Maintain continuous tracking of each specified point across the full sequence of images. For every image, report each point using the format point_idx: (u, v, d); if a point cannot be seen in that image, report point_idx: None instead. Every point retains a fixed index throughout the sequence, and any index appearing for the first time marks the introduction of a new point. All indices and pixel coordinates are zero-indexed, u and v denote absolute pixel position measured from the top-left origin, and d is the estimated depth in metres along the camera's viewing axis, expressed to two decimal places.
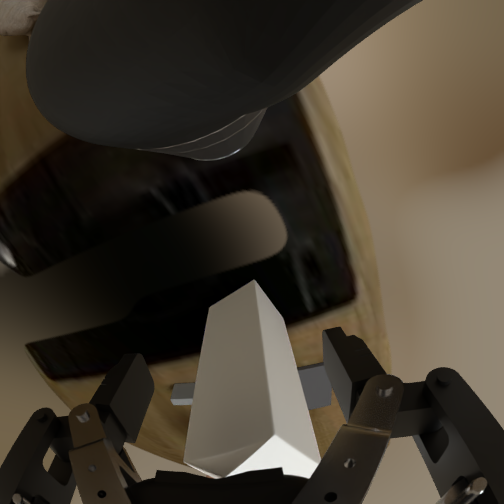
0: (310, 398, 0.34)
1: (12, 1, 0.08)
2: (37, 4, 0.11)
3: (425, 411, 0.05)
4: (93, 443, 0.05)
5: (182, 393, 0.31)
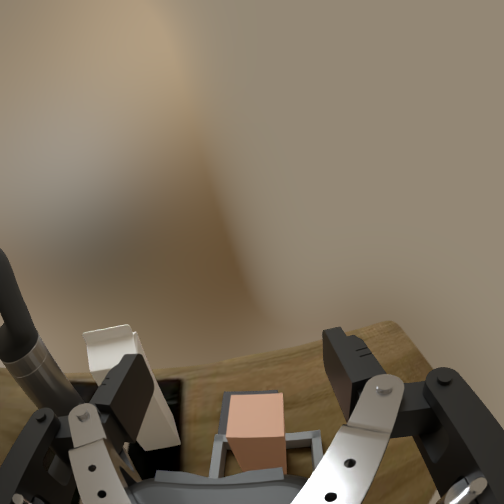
0: None
1: None
2: None
3: (425, 411, 0.05)
4: (93, 443, 0.05)
5: None
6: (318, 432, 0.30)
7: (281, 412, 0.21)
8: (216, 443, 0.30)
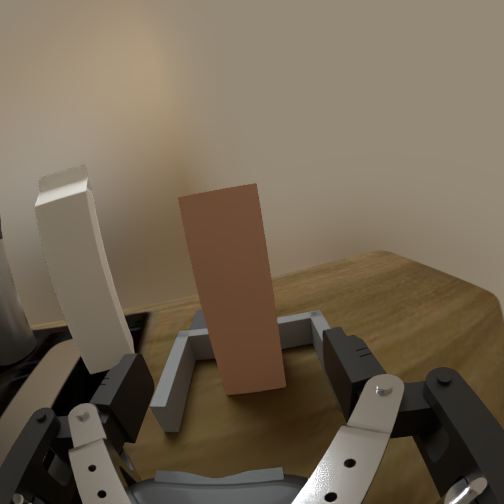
0: None
1: None
2: None
3: (425, 411, 0.05)
4: (93, 443, 0.05)
5: None
6: (318, 312, 0.26)
7: None
8: (179, 338, 0.25)
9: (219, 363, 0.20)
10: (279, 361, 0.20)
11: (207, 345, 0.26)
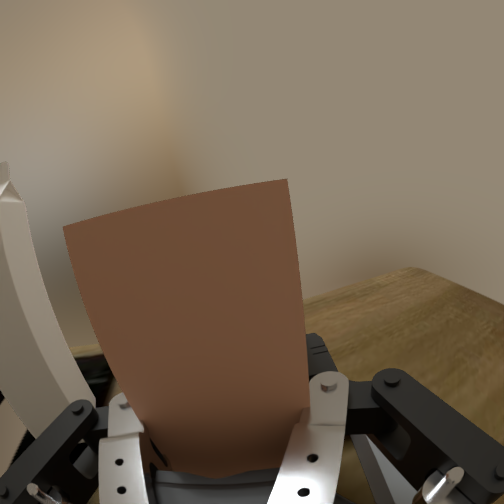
0: None
1: None
2: None
3: (371, 411, 0.06)
4: (127, 436, 0.05)
5: None
6: None
7: None
8: None
9: None
10: None
11: None
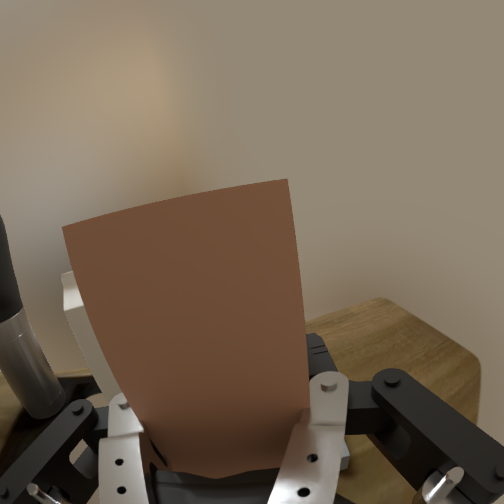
0: None
1: None
2: None
3: (371, 410, 0.06)
4: (127, 436, 0.05)
5: None
6: None
7: None
8: None
9: None
10: None
11: None
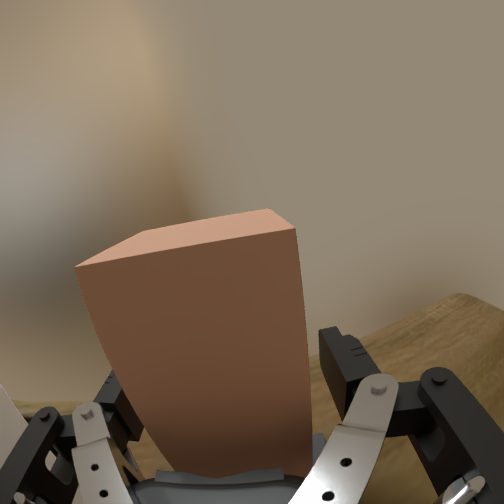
0: None
1: None
2: None
3: (420, 410, 0.06)
4: (96, 442, 0.05)
5: None
6: None
7: (271, 214, 0.08)
8: None
9: None
10: None
11: None
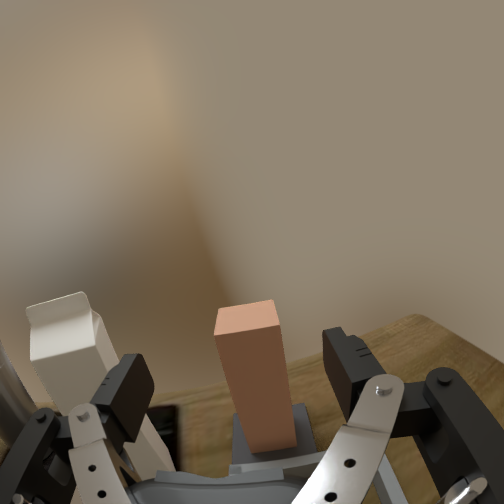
0: None
1: None
2: None
3: (425, 411, 0.05)
4: (93, 443, 0.05)
5: None
6: None
7: (273, 310, 0.22)
8: None
9: (247, 435, 0.22)
10: (292, 432, 0.23)
11: None
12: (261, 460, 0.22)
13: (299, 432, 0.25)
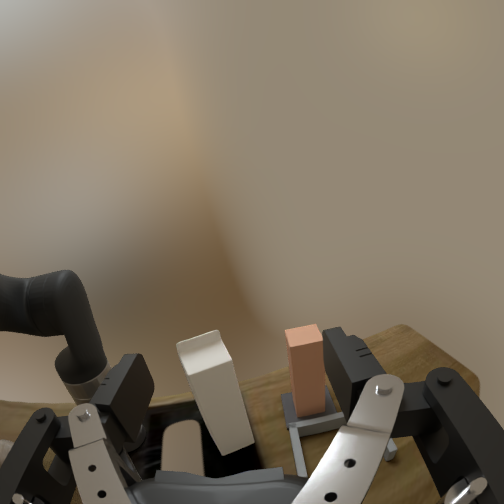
0: None
1: None
2: None
3: (425, 411, 0.05)
4: (93, 443, 0.05)
5: (297, 472, 0.28)
6: None
7: (318, 331, 0.39)
8: (292, 430, 0.35)
9: (297, 404, 0.39)
10: (323, 401, 0.40)
11: (307, 429, 0.36)
12: None
13: (325, 403, 0.42)
